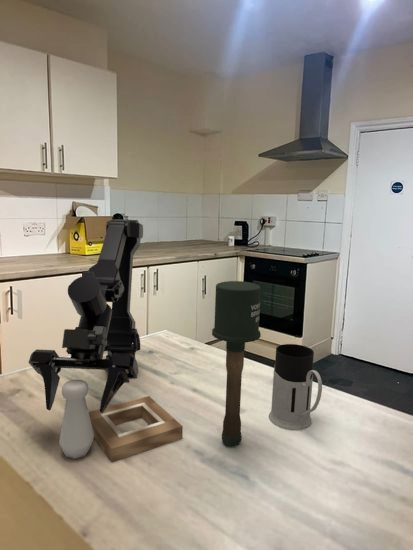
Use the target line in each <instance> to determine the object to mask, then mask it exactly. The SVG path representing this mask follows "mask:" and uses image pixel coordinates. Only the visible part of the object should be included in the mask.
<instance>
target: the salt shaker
mask: <svg viewBox="0 0 413 550" xmlns="http://www.w3.org/2000/svg"><path fill="white" fill-rule="evenodd" d="M88 392H89V384H88V383H87V382H86V381H85V380H83V379H77V378H76V379H71V380H68V381H66V382H65V383H64V384H63V385H62V388H61V395H62V398H63V399H65V404H64V411H63V415H62V416H63V418H62V424H61V430H60V434H59V439H58V440H59V441H58V443H59V446H60V448H61V450H62V452H63V453H64V455H65V457H66V458H71V459H74V460H76V459H78V458H81V457H82V458H83V457H85V456H86V455H87V454H88V452H89V450H90V448H91V447H92V445H93V442H94V440H95V438H94V433H93V429H92V425H91V420H90V416H89V412H90V411H89V409H88V404H87V400H86V397H87V395H88Z"/></svg>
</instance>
